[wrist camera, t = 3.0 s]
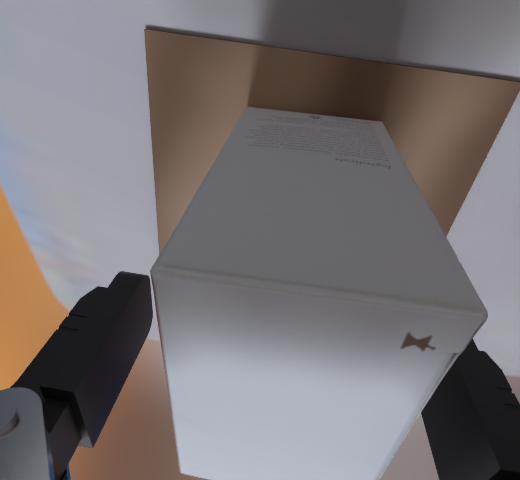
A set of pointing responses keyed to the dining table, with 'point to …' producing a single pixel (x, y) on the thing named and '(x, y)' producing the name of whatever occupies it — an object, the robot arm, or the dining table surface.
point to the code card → (313, 112)
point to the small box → (306, 304)
